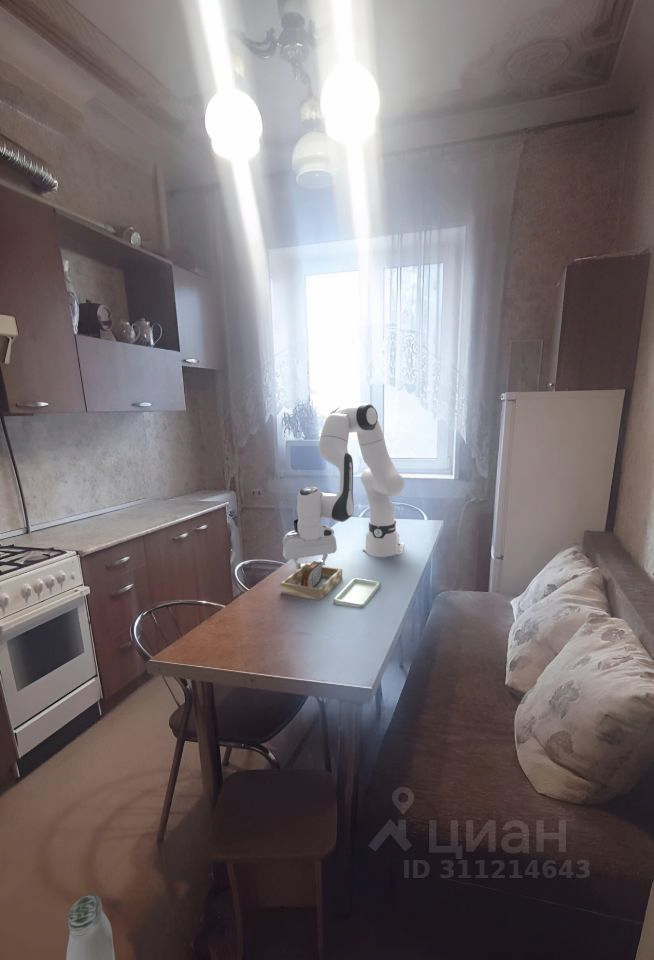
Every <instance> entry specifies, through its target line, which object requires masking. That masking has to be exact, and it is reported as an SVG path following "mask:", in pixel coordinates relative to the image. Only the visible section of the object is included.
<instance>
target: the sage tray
mask: <svg viewBox="0 0 654 960" xmlns="http://www.w3.org/2000/svg"><path fill="white" fill-rule="evenodd" d="M381 585H382V584H381V581H376V580H372V579H364V578H360V577H359V578H358V577H353V578H352V579H351V580H349V582H348V583H347V584H346V585H345V587H343V589H341V591H340V592H339V593H338V594H337V595H336V596H335V597H334V598H333V600H332V603H333V604H332V605H337V606H345V607H352V608H357V609H363V608H364V607H365V606H366V605H367V604H368V602H369V601H370V600H371V598H372V597H373V596H374V595H375V593H376V592H377V591H378V590H379V589H380V588H381Z"/></svg>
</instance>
